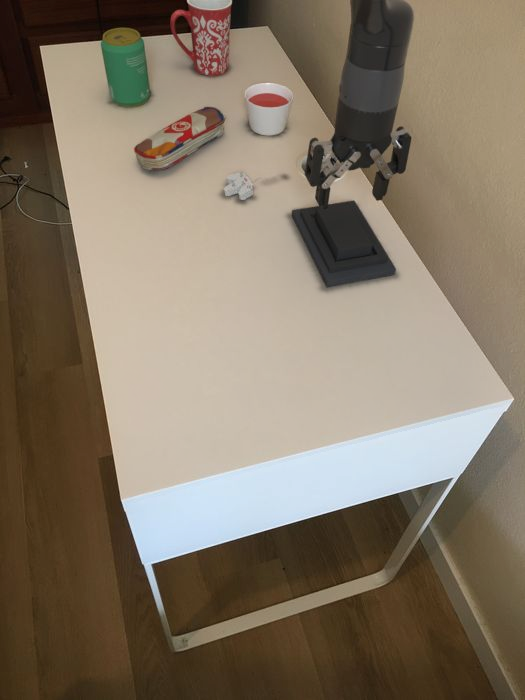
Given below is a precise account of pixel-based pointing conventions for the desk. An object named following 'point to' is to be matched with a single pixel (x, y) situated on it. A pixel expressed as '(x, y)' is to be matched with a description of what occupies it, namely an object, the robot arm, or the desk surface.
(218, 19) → the mug
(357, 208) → the base pad
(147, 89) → the beverage can
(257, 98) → the candle
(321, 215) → the black pad
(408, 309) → the desk surface
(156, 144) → the pencil case
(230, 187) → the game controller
